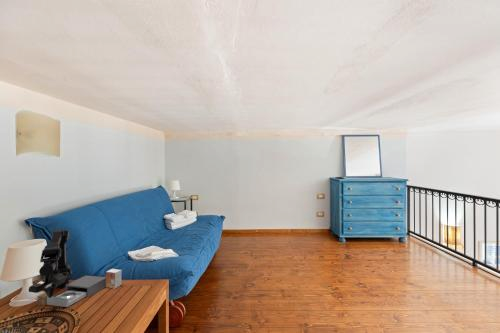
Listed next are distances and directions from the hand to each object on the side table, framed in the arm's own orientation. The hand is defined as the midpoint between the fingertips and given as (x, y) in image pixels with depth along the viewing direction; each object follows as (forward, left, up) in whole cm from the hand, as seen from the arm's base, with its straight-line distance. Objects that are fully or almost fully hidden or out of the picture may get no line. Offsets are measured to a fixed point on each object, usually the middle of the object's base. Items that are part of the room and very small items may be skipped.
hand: (50, 297), depth 133 cm
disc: (0, +10, -6) cm, 12 cm away
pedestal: (-11, +6, -7) cm, 14 cm away
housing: (0, +24, -7) cm, 25 cm away
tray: (0, +10, -7) cm, 12 cm away
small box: (+13, +32, -7) cm, 35 cm away
